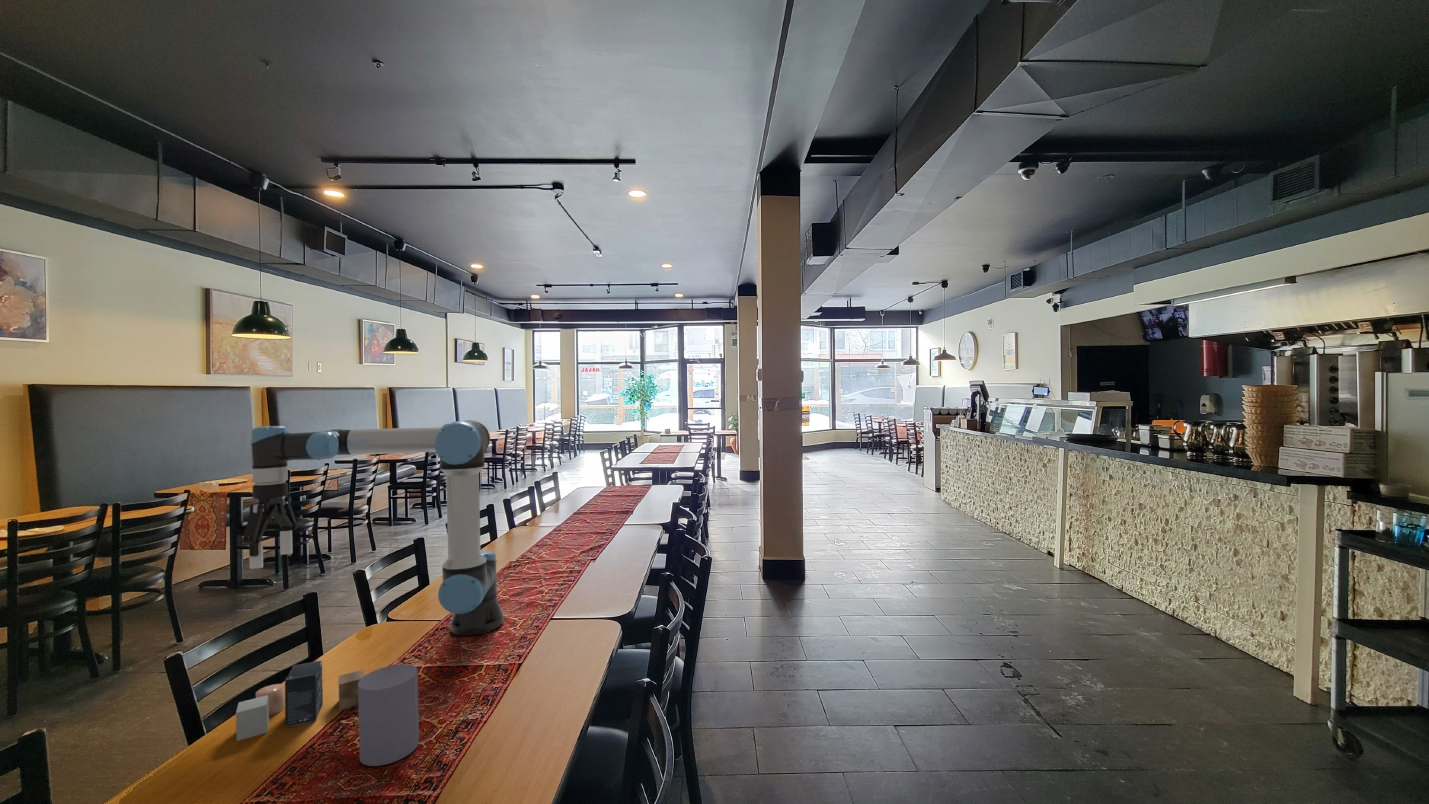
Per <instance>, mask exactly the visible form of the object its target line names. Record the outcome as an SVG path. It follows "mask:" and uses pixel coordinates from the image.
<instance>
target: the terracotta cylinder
mask: <svg viewBox="0 0 1429 804" xmlns="http://www.w3.org/2000/svg"><path fill="white" fill-rule="evenodd" d="M266 695H268V703H269V717H272V716H274V715H277V714H279V713H281V712H282V711H283V710H285V684H283V683H282V684H281V683H276V684H271V685H266V686H264V687H262V688H259V689H258V690H257V691H255V698H258V697H262V696H266Z"/></svg>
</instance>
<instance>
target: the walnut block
mask: <svg viewBox="0 0 1429 804" xmlns="http://www.w3.org/2000/svg"><path fill="white" fill-rule="evenodd" d="M364 676H365V670H364V669H361V670H356V671H353V672H349V673H345V674H342V675H341V674H340V675H338V704H339V705H338V706H339V711H343V710H347V709H350V708H353V707H357V706H359V702H358V682H359V680H360V679H361V678H362V677H364Z"/></svg>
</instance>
